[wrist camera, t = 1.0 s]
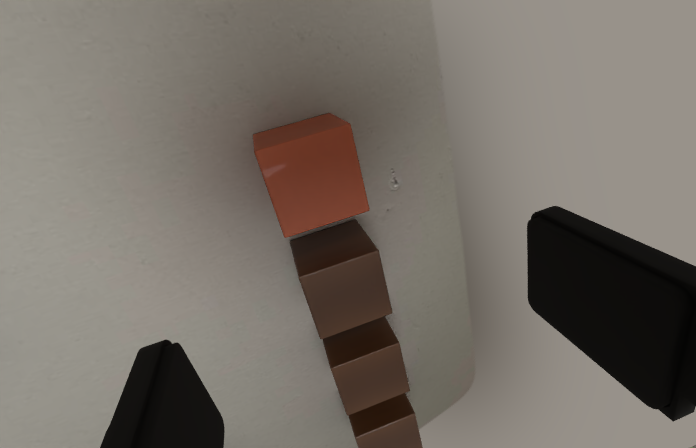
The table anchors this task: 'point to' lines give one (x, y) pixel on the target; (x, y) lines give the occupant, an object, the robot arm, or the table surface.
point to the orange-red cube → (311, 172)
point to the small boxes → (358, 333)
